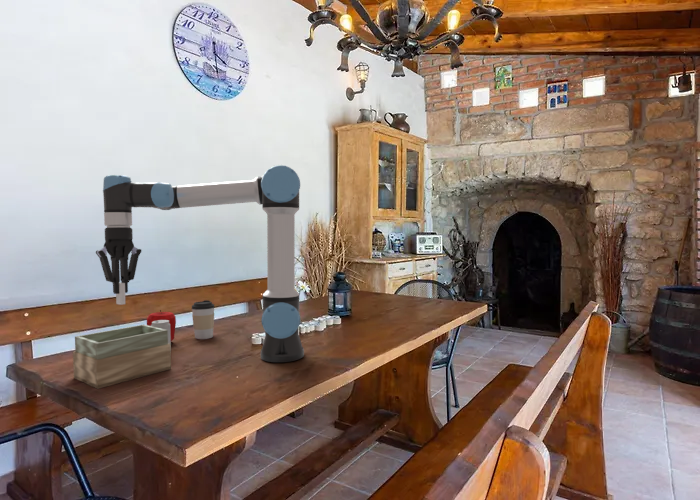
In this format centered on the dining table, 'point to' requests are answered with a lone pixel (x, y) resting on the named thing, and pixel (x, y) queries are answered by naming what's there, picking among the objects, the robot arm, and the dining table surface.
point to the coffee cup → (203, 319)
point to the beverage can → (163, 325)
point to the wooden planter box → (120, 355)
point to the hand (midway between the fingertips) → (120, 303)
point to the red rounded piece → (163, 316)
